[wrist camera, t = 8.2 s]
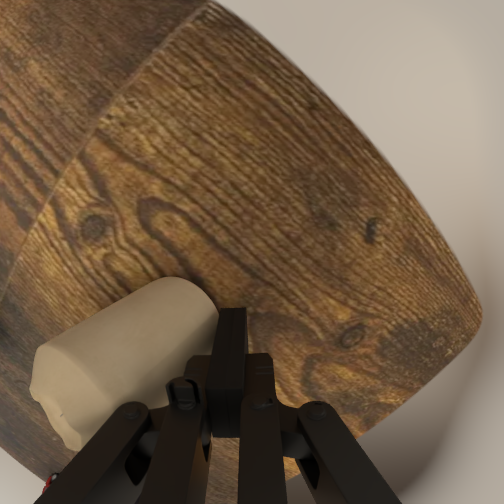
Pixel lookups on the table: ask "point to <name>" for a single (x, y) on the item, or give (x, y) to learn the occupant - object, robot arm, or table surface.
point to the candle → (122, 356)
